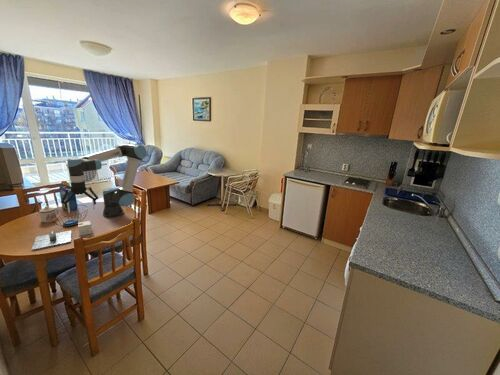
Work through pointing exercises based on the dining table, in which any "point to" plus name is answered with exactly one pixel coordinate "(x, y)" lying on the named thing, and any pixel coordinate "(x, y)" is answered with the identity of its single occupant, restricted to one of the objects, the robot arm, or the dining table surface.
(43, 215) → the teacup with lid
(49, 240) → the panel
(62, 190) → the blue food package
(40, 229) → the dining table surface
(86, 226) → the white box
